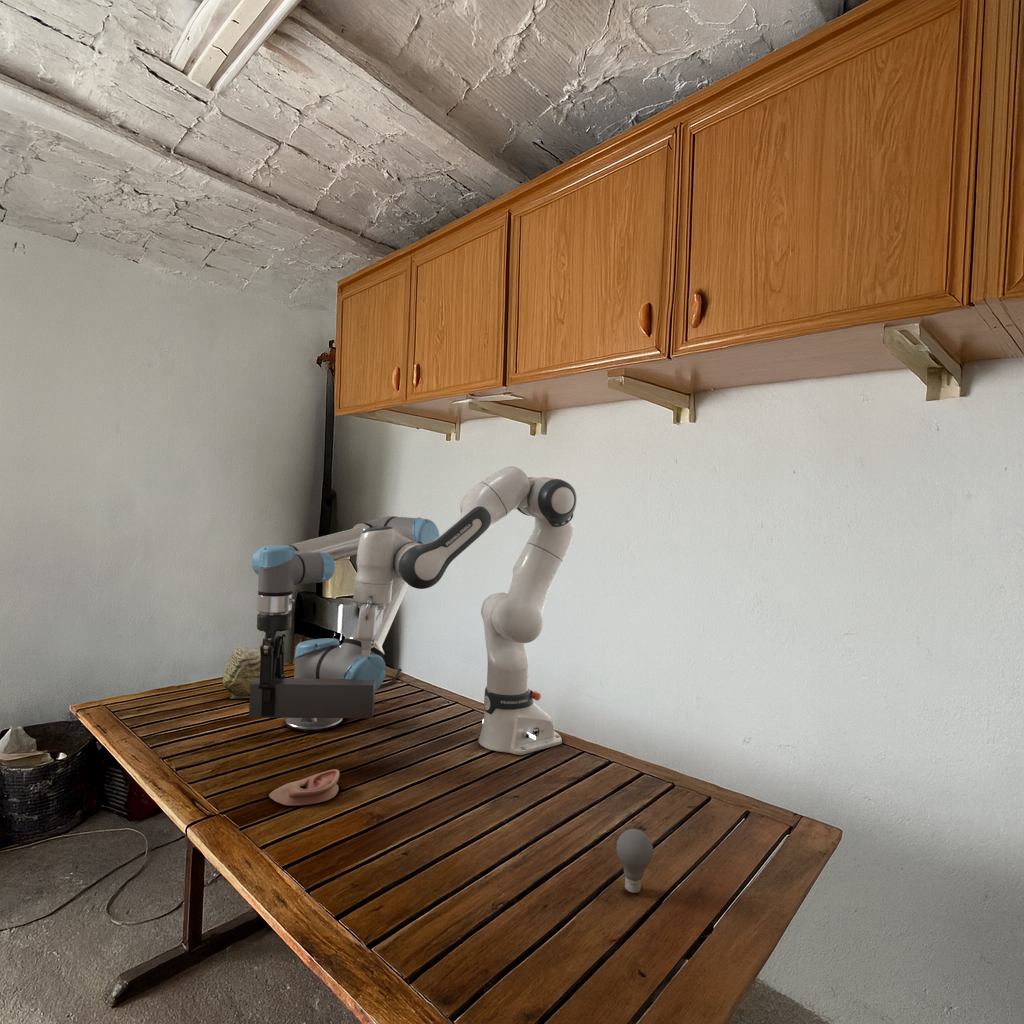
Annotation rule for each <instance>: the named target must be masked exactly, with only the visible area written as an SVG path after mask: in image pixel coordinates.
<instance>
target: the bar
mask: <svg viewBox="0 0 1024 1024" xmlns="http://www.w3.org/2000/svg"><path fill="white" fill-rule="evenodd" d="M375 681H376V680H371V679H294V678H286V677H285V678H275V681H274V687H275V712H274V717H262V716H261V711H262V689H258V686H259V685H260V678H256V679H255V680H254V681H253V682H252V683H251V684H250V698H249V704H248V706H249V707H248V718H251V719H252V718H253V719H254V718H256V719H261V718H262V719H275V718H276V719H286V718H343V719H373V717H374V714H375V703H376V691H375Z"/></svg>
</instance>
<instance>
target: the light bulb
mask: <svg viewBox="0 0 1024 1024" xmlns="http://www.w3.org/2000/svg"><path fill="white" fill-rule="evenodd" d="M615 849H616V854H617V857H618V859H619V861H620V863H621V865H622V867H623V873H624V874H623V875H624V876H625V878H624V888H625V890H627V891H628V892H630V893H634V894H635V893H639V892H640V891H641V889H642V887H641V886H642V879H643V877H644V875H645V871H646V868H647V867H648V866H649V864H650V863H651V861H652V859H653V855H654V847H653V843H652V841H651V838H649V836H648V835H647V834H646V833H645V832H643V831H642V830H641V829H636V828H629V829H627V830H625V831H623V832H622V833H621V834H620V835H619V837H618V839H617V841H616V847H615Z"/></svg>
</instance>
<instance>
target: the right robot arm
mask: <svg viewBox="0 0 1024 1024" xmlns="http://www.w3.org/2000/svg"><path fill="white" fill-rule="evenodd" d="M577 500H578V499H577V492H576V490H575V488H574V486H573V485H571V483H569V482H567V481H566V480H563V479H561V478H553V477H546V476H541V477H532V476H531V477H528V476H527V474H526V472H524V471H523V470H522V469H521V468H519V467H517V466H511V465H509V466H505V467H504V468H502V469H500V470H497V471H496V472H494V473H492V474H490V475H489V476H487V477H485V478H484V479H483V480H481V481H480V482H478V483H477V484H476V485H474V487H473V488H471V489H470V490H469V491H468V492H467V493H466V494H465V495H464V496H463V498H461V500H460V504H459V505H460V506H459V509H460V515H459V517H458V519H457V520H456V521H455V522H454V523H453V524H451V526H450V527H448V528H447V529H446V530H445V531H443V532H442V533H441V534H439V537H438V538H436V539H435V540H434V541H432V542H429V543H426V544H420V543H417V542H415V541H412V540H410V539H408V538H406V537H405V536H403V535H401V534H400V533H398V532H397V531H396V530H395V529H394V528H393V527H390V526H378V527H371V528H368V529H366V530H365V531H363V532H362V534H361V537H360V540H359V545H358V552H357V554H356V568H357V569H356V570H357V572H356V574H355V579H354V586H353V598H352V599H353V600H352V601H354V602H355V603H358V604H357V608H358V609H359V613H358V622H357V624H358V631H357V639H358V640H362V642H361V645H362V657H369V656H370V648H373V647H374V644H375V637H376V633H377V631H378V629H379V627H380V625H381V622H382V618H383V613H384V609H385V604H386V603H390V602H391V597H392V585H393V579H395V578H401V579H402V580H404V581H405V582H406V583H407V584H408V585H409V587H411V588H414V589H416V590H417V589H418V590H425V589H429V588H432V587H434V586H435V585H436V584H438V582H440V581H441V579H442V578H443V576H444V574H445V572H446V570H448V569H447V568H448V567H449V566H450V564H451V563H452V562H453V561H454V560H455V559H456V558H458V556H459V555H460V554H462V553H463V552H464V551H465V550H466V549H467V548H468V547H470V546H471V545H472V544H473V543H475V541H477V539H479V538H480V537H481V536H482V535H483V534H485V533H486V532H487V531H488V530H489V529H491V528H493V527H494V526H495V525H498V523H500V522H501V521H502V520H504V519H505V518H506V517H508V516H509V515H510V514H511V513H512V512H514V511H515V510H517V511H518V512H520V513H521V514H523V515H525V516H528V517H532V518H534V526H533V527H534V528H533V530H532V533H531V534H530V536H529V538H528V540H527V541H526V543H525V545H524V547H523V548H522V551H521V553H520V555H519V556H518V558H517V560H516V562H515V563H514V566H513V568H512V579H511V582H510V585H509V589H508V592H496V593H491V594H490V595H488V596H487V597H486V598H484V600H483V602H482V604H481V608H480V615H481V618H482V621H483V628H484V629H483V630H484V640H485V647H486V655H487V657H486V659H487V669H486V687H485V688H484V698H483V709H484V715H483V719H482V725H481V730H480V733H479V736H478V739H477V743H478V744H479V745H480V746H481V747H482V748H485V749H487V750H489V751H494V752H500V753H509V754H513V755H517V756H523V755H527V754H530V753H534V752H538V751H541V750H545V749H548V748H552V747H555V746H559V745H561V744H563V739H562V736H561V735H560V734H559V733H558V732H556V730H555V729H554V723H553V719H552V717H551V716H550V715H549V714H548V713H547V712H546V711H545V710H543V709H542V708H541V707H540V706H539V705H537V703H535V702H534V700H535V701H540V699H541V698H542V695H541V693H540V692H538V691H535V690H532V689H530V688H529V675H530V659H529V656H528V653H527V649H526V644H529V643H531V642H534V641H535V640H537V639H538V637H540V635H541V633H542V631H543V628H544V619H543V618H544V617H543V613H544V609H545V605H546V602H547V597H548V595H549V592H550V588H551V586H552V584H553V582H554V580H555V578H556V576H557V574H558V573H559V570H560V568H561V567H562V565H563V562H564V560H565V559H566V557H567V555H568V553H569V550H570V547H571V544H572V541H573V538H574V534H575V527H574V524H573V522H571V521H572V519H573V518H574V512H575V510H576V507H577Z"/></svg>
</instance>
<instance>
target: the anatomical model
mask: <svg viewBox="0 0 1024 1024" xmlns="http://www.w3.org/2000/svg"><path fill="white" fill-rule="evenodd" d="M339 780H340V770H339V769H336V768H335V769H334V768H333V769H330V770H325V771H321V772H319V773H316V774H313V775H310V776H307V777H305V778H302V779H299V780H295V781H292V782H288V783H286V784H283V785H281V786H279V787H277V788H275V789H273V791H270V793H269V794H268V797H269V798H270V799H271V800H273V802H275V803H278V804H280V805H283V806H288V807H289V806H290V807H291V806H293V807H295V806H296V807H297V806H306V805H314V804H318V803H322V802H326V801H329V800H331V799H333V798H334V797H335V796H336V795H337V794H338V793H339V789H340V787H339V784H337V783H338V782H339Z"/></svg>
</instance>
